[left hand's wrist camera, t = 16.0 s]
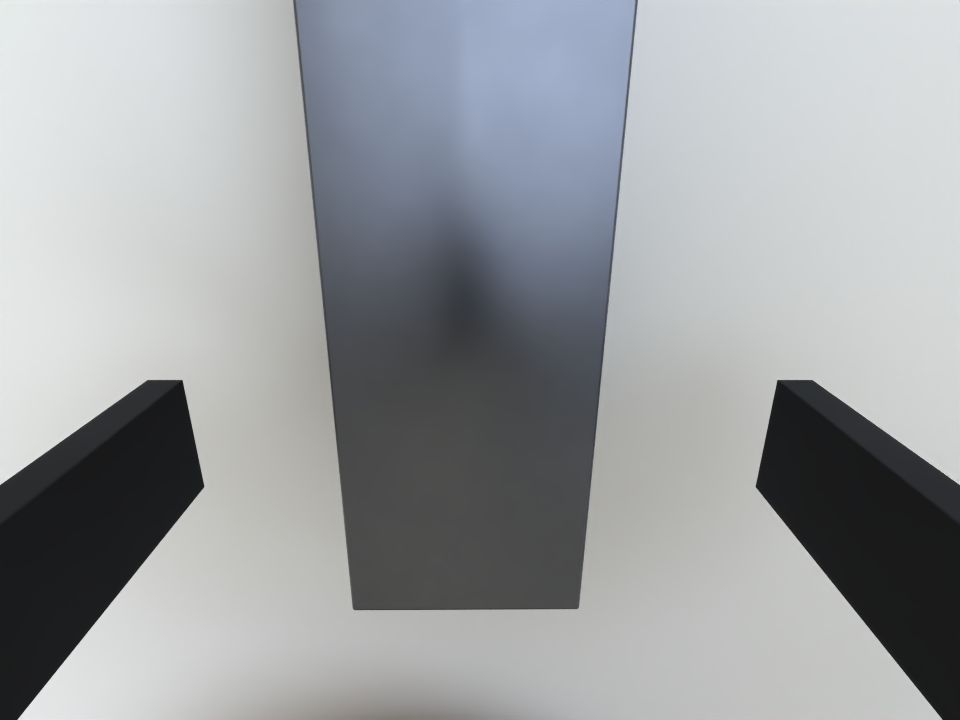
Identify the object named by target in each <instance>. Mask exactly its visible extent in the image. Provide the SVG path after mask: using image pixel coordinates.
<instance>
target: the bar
mask: <svg viewBox="0 0 960 720" xmlns="http://www.w3.org/2000/svg"><path fill="white" fill-rule="evenodd" d="M293 4H294V15H295V25H296V35H297V45H298V55H299V65H300V76H301V86H302V96H303V106H304V116H305V126H306V137H307V147H308V157H309V167H310V177H311V188H312V198H313V208H314V218H315V228H316V238H317V249H318V259H319V269H320V279H321V289H322V300H323V310H324V320H325V330H326V340H327V350H328V361H329V371H330V381H331V391H332V401H333V412H334V422H335V432H336V442H337V452H338V463H339V473H340V483H341V493H342V503H343V513H344V524H345V534H346V544H347V554H348V564H349V575H350V585H351V595H352V605H353V609H354V610H467V609H578V608H579V601H580V591H581V580H582V570H583V560H584V549H585V539H586V529H587V518H588V508H589V498H590V488H591V477H592V467H593V457H594V446H595V436H596V426H597V416H598V405H599V395H600V385H601V374H602V364H603V354H604V343H605V333H606V323H607V313H608V302H609V292H610V282H611V271H612V261H613V251H614V240H615V230H616V220H617V210H618V199H619V189H620V179H621V168H622V158H623V148H624V137H625V127H626V117H627V107H628V96H629V86H630V76H631V65H632V55H633V45H634V35H635V24H636V14H637V4H638V0H293Z"/></svg>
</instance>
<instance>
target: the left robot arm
mask: <svg viewBox="0 0 960 720" xmlns="http://www.w3.org/2000/svg"><path fill="white" fill-rule="evenodd" d="M203 488H204V483H203V478H202V473H201V468H200V464H199V459H198V454H197V449H196V444H195V439H194V434H193V429H192V424H191V420H190V415H189V410H188V405H187V400H186V395H185V390H184V385H183V381H182V380H147V381H146V382H145V383H143V384H142V385H140V386H139V387H137V388H136V389H135V390H133V391H132V392H130V393H129V394H128V395H126V396H125V397H123V398H122V399H121V400H119V401H118V402H116V403H115V404H114V405H112V406H111V407H109V408H108V409H107V410H105V411H104V412H102V413H101V414H100V415H98V416H97V417H95V418H94V419H93V420H91V421H90V422H88V423H87V424H86V425H84V426H83V427H81V428H80V429H78V430H77V431H76V432H74V433H73V434H71V435H70V436H69V437H67V438H66V439H64V440H63V441H62V442H60V443H59V444H57V445H56V446H55V447H53V448H52V449H50V450H49V451H48V452H46V453H45V454H43V455H42V456H41V457H39V458H38V459H36V460H35V461H34V462H32V463H31V464H29V465H28V466H27V467H25V468H24V469H22V470H21V471H19V472H18V473H17V474H15V475H14V476H12V477H11V478H10V479H8V480H7V481H5V482H4V483H3V484H1V485H0V720H17V719H18V718H19V717H20V716H21V714H22V713H23V712H24V711H25V709H26V708H27V707H28V706H29V705H30V703H31V702H32V701H33V700H34V698H35V697H36V696H37V695H38V693H39V692H40V691H41V690H42V688H43V687H44V686H45V685H46V683H47V682H48V681H49V680H50V678H51V677H52V676H53V675H54V673H55V672H56V671H57V670H58V668H59V667H60V666H61V665H62V663H63V662H64V661H65V660H66V658H67V657H68V656H69V655H70V653H71V652H72V651H73V650H74V648H75V647H76V646H77V645H78V644H79V642H80V641H81V640H82V639H83V637H84V636H85V635H86V634H87V632H88V631H89V630H90V629H91V627H92V626H93V625H94V624H95V622H96V621H97V620H98V619H99V617H100V616H101V615H102V614H103V612H104V611H105V610H106V609H107V607H108V606H109V605H110V604H111V602H112V601H113V600H114V599H115V597H116V596H117V595H118V594H119V592H120V591H121V590H122V589H123V587H124V586H125V585H126V584H127V583H128V581H129V580H130V579H131V578H132V576H133V575H134V574H135V573H136V571H137V570H138V569H139V568H140V566H141V565H142V564H143V563H144V561H145V560H146V559H147V558H148V556H149V555H150V554H151V553H152V551H153V550H154V549H155V548H156V546H157V545H158V544H159V543H160V541H161V540H162V539H163V538H164V536H165V535H166V534H167V533H168V531H169V530H170V529H171V528H172V526H173V525H174V524H175V523H176V522H177V520H178V519H179V518H180V517H181V515H182V514H183V513H184V512H185V510H186V509H187V508H188V507H189V505H190V504H191V503H192V502H193V500H194V499H195V498H196V497H197V495H198V494H199V493H200V492H201V490H202V489H203ZM756 488H757V489H758V490H759V492H760V493H761V494H762V495H763V497H764V498H765V499H766V500H767V502H768V503H769V504H770V505H771V507H772V508H773V509H774V510H775V512H776V513H777V514H778V515H779V517H780V518H781V519H782V520H783V522H784V523H785V524H786V525H787V526H788V528H789V529H790V530H791V531H792V533H793V534H794V535H795V536H796V538H797V539H798V540H799V541H800V543H801V544H802V545H803V546H804V548H805V549H806V550H807V551H808V553H809V554H810V555H811V556H812V558H813V559H814V560H815V561H816V563H817V564H818V565H819V566H820V568H821V569H822V570H823V571H824V573H825V574H826V575H827V576H828V578H829V579H830V580H831V581H832V583H833V584H834V585H835V586H836V587H837V589H838V590H839V591H840V592H841V594H842V595H843V596H844V597H845V599H846V600H847V601H848V602H849V604H850V605H851V606H852V607H853V609H854V610H855V611H856V612H857V614H858V615H859V616H860V617H861V619H862V620H863V621H864V622H865V624H866V625H867V626H868V627H869V629H870V630H871V631H872V632H873V634H874V635H875V636H876V637H877V639H878V640H879V641H880V642H881V644H882V645H883V646H884V647H885V648H886V650H887V651H888V652H889V653H890V655H891V656H892V657H893V658H894V660H895V661H896V662H897V663H898V665H899V666H900V667H901V668H902V670H903V671H904V672H905V673H906V675H907V676H908V677H909V678H910V680H911V681H912V682H913V683H914V685H915V686H916V687H917V688H918V690H919V691H920V692H921V693H922V695H923V696H924V697H925V698H926V700H927V701H928V702H929V703H930V705H931V706H932V707H933V708H934V709H935V711H936V712H937V713H938V714H939V716H940V717H941V718H942V719H943V720H960V485H959V484H957V483H956V482H955V481H953V480H952V479H950V478H949V477H948V476H946V475H945V474H943V473H942V472H941V471H939V470H938V469H936V468H935V467H933V466H932V465H931V464H929V463H928V462H926V461H925V460H924V459H922V458H921V457H919V456H918V455H917V454H915V453H914V452H912V451H911V450H910V449H908V448H907V447H905V446H904V445H903V444H901V443H900V442H898V441H897V440H896V439H894V438H893V437H891V436H890V435H889V434H887V433H886V432H884V431H883V430H882V429H880V428H879V427H877V426H876V425H874V424H873V423H872V422H870V421H869V420H867V419H866V418H865V417H863V416H862V415H860V414H859V413H858V412H856V411H855V410H853V409H852V408H851V407H849V406H848V405H846V404H845V403H844V402H842V401H841V400H839V399H838V398H837V397H835V396H834V395H832V394H831V393H830V392H828V391H827V390H825V389H824V388H823V387H821V386H820V385H818V384H817V383H815V382H814V381H813V380H778V381H777V385H776V390H775V395H774V400H773V405H772V410H771V415H770V420H769V424H768V429H767V434H766V439H765V444H764V449H763V454H762V459H761V464H760V468H759V473H758V478H757V483H756Z"/></svg>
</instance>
